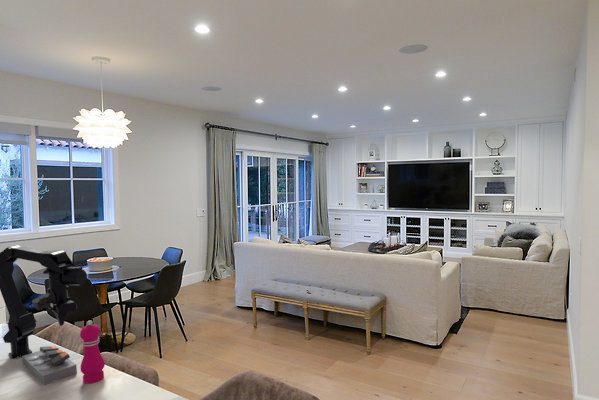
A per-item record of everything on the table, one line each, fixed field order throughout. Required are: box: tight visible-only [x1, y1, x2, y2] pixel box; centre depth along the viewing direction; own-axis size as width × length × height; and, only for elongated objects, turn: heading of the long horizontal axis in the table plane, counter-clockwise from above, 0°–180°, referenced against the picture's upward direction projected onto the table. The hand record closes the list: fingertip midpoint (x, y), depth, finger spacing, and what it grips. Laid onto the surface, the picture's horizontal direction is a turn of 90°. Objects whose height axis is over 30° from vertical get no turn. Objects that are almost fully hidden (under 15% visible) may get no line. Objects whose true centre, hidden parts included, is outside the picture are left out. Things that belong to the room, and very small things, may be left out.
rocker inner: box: [39, 345, 60, 353], centre depth 149 cm, size 4×5×2 cm
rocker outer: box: [50, 351, 71, 366], centre depth 141 cm, size 4×5×2 cm
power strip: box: [21, 350, 78, 386], centre depth 143 cm, size 24×10×3 cm, turn 49°
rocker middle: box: [45, 349, 64, 358], centre depth 145 cm, size 4×5×2 cm
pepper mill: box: [79, 320, 106, 384], centre depth 134 cm, size 7×7×20 cm
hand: (61, 325), depth 152 cm, fingers closed
